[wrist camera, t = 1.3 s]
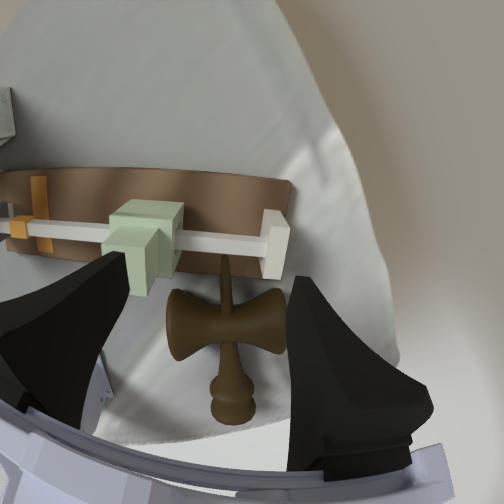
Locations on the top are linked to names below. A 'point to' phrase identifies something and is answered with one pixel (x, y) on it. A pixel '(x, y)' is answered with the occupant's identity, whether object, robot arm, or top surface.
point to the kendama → (227, 339)
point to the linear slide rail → (265, 247)
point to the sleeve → (146, 240)
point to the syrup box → (6, 116)
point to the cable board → (143, 188)
